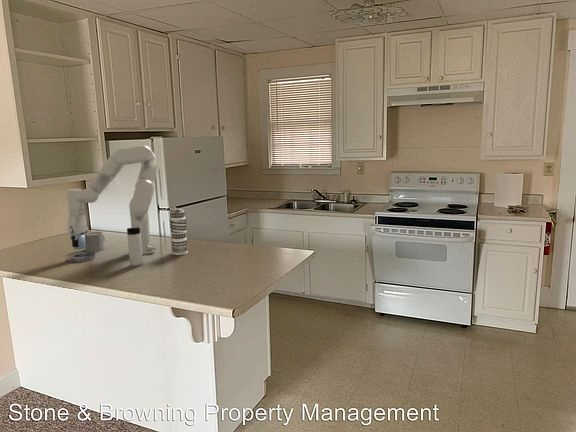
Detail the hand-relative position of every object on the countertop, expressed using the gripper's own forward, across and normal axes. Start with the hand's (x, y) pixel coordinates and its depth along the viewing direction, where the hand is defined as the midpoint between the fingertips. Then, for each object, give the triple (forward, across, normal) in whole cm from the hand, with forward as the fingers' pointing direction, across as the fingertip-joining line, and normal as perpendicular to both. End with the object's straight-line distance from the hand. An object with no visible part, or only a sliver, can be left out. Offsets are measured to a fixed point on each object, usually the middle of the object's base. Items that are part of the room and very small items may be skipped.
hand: (79, 245), depth 232 cm
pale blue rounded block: (+2, 0, 0) cm, 2 cm away
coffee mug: (+8, -19, -4) cm, 21 cm away
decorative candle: (+7, -19, +48) cm, 53 cm away
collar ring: (+8, 0, 0) cm, 8 cm away
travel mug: (+7, +6, +36) cm, 38 cm away
